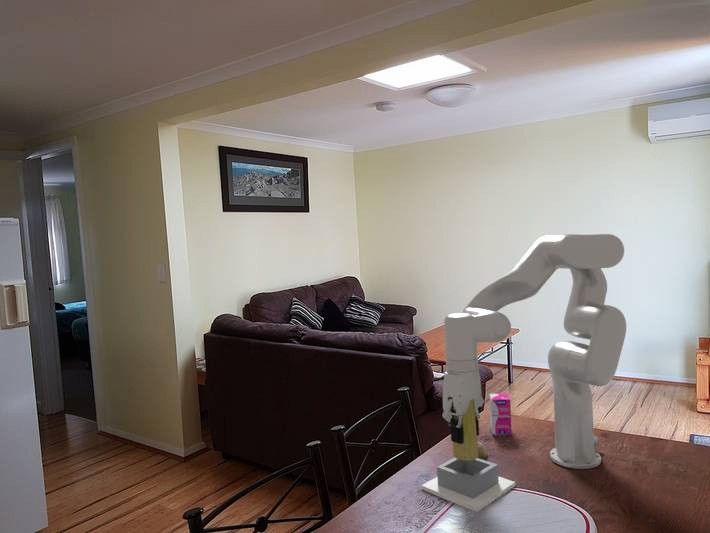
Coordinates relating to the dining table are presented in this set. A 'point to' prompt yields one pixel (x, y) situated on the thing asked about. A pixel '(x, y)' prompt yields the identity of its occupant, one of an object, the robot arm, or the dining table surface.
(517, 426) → the dining table surface
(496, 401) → the supplement box
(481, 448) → the chocolate bunny
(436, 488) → the holder
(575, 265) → the robot arm
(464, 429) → the vase
